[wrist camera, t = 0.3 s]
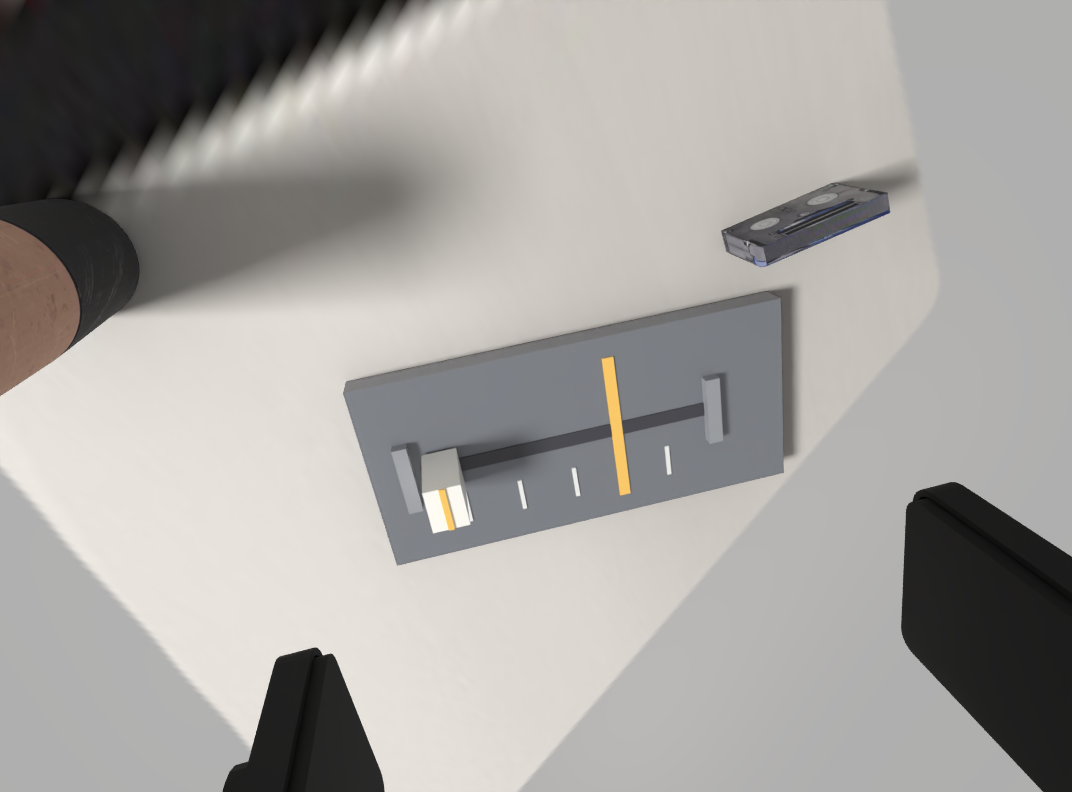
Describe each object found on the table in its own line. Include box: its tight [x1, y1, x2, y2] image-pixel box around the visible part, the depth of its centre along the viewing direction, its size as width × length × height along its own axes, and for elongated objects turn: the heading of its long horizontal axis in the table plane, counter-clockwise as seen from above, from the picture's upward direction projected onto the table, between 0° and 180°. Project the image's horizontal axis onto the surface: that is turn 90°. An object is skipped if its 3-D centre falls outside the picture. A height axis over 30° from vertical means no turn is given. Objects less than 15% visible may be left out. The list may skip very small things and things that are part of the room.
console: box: [343, 291, 784, 565], centre depth 48 cm, size 14×30×3 cm, turn 100°
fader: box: [421, 448, 470, 533], centre depth 44 cm, size 3×2×5 cm
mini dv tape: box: [721, 183, 890, 267], centre depth 43 cm, size 8×2×6 cm, turn 112°
